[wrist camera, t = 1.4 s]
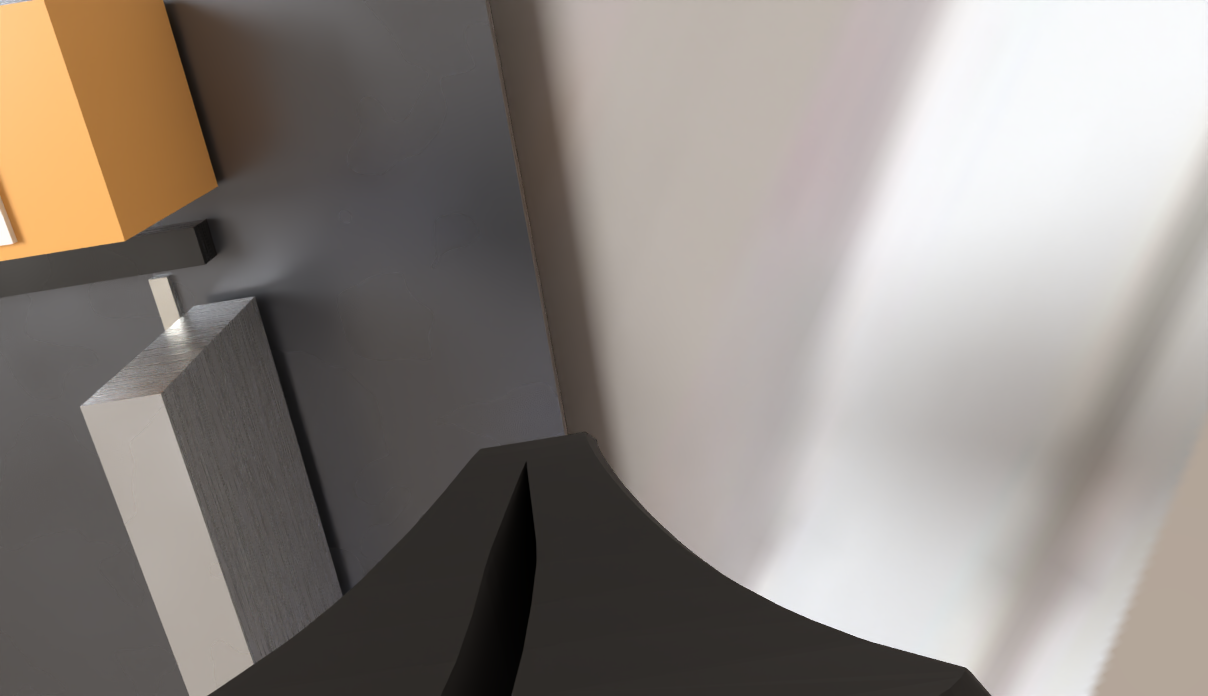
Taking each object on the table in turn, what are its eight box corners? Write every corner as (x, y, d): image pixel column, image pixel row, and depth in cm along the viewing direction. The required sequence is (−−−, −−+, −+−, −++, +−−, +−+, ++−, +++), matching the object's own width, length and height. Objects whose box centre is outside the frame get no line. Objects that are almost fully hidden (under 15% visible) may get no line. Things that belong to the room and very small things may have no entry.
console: (617, 703, 20) (637, 916, 16) (-128, 822, 20) (-331, 1070, 16) (466, -127, 15) (426, -183, 10) (-565, 39, 15) (-1084, 62, 10)
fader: (217, 186, 15) (121, 242, 12) (40, 215, 15) (-108, 280, 12) (161, -3, 14) (38, -2, 11) (-28, 28, 14) (-212, 40, 11)
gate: (358, 649, 18) (308, 823, 14) (305, 657, 18) (241, 833, 14) (254, 296, 15) (160, 393, 12) (193, 305, 15) (79, 406, 12)
